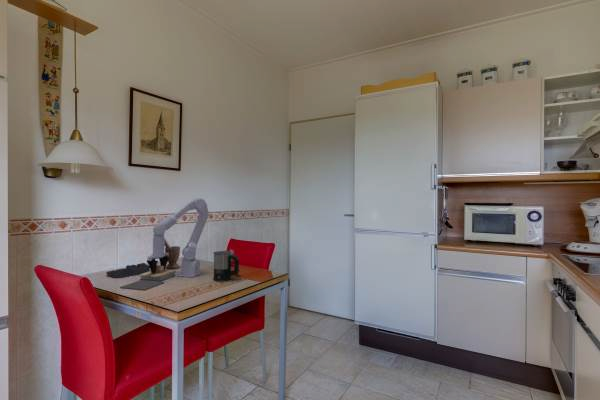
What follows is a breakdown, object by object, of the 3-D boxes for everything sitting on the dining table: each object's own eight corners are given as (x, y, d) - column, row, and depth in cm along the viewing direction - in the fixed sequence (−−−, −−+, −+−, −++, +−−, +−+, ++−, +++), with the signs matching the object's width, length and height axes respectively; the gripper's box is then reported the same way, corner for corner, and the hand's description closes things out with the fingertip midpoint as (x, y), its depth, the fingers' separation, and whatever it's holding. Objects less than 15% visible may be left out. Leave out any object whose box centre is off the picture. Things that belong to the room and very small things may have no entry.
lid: (176, 271, 173) (176, 264, 173) (160, 277, 160) (160, 269, 160) (156, 270, 176) (156, 262, 176) (139, 275, 163) (139, 267, 163)
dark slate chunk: (102, 276, 171) (102, 267, 171) (140, 269, 190) (140, 261, 190) (117, 280, 163) (117, 271, 163) (155, 272, 182) (155, 264, 182)
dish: (174, 276, 172) (174, 272, 172) (160, 281, 161) (160, 277, 161) (156, 274, 175) (156, 270, 175) (140, 279, 164) (140, 275, 164)
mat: (164, 282, 158) (164, 281, 158) (144, 290, 144) (144, 289, 144) (141, 280, 161) (141, 279, 161) (119, 288, 147) (119, 287, 148)
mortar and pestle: (166, 271, 183) (166, 237, 183) (157, 269, 187) (157, 236, 188) (182, 267, 193) (183, 235, 193) (173, 266, 197) (174, 234, 197)
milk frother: (212, 282, 161) (212, 253, 162) (214, 274, 177) (214, 248, 177) (239, 281, 164) (240, 253, 164) (239, 274, 180) (239, 248, 180)
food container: (223, 268, 193) (224, 252, 193) (216, 267, 196) (217, 251, 196) (237, 265, 203) (237, 250, 203) (230, 264, 207) (231, 249, 207)
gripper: (161, 244, 176) (160, 268, 176) (142, 248, 162) (142, 274, 162) (172, 245, 174) (171, 269, 174) (154, 248, 160) (153, 275, 160)
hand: (158, 271), depth 168 cm, fingers open, 7 cm apart
